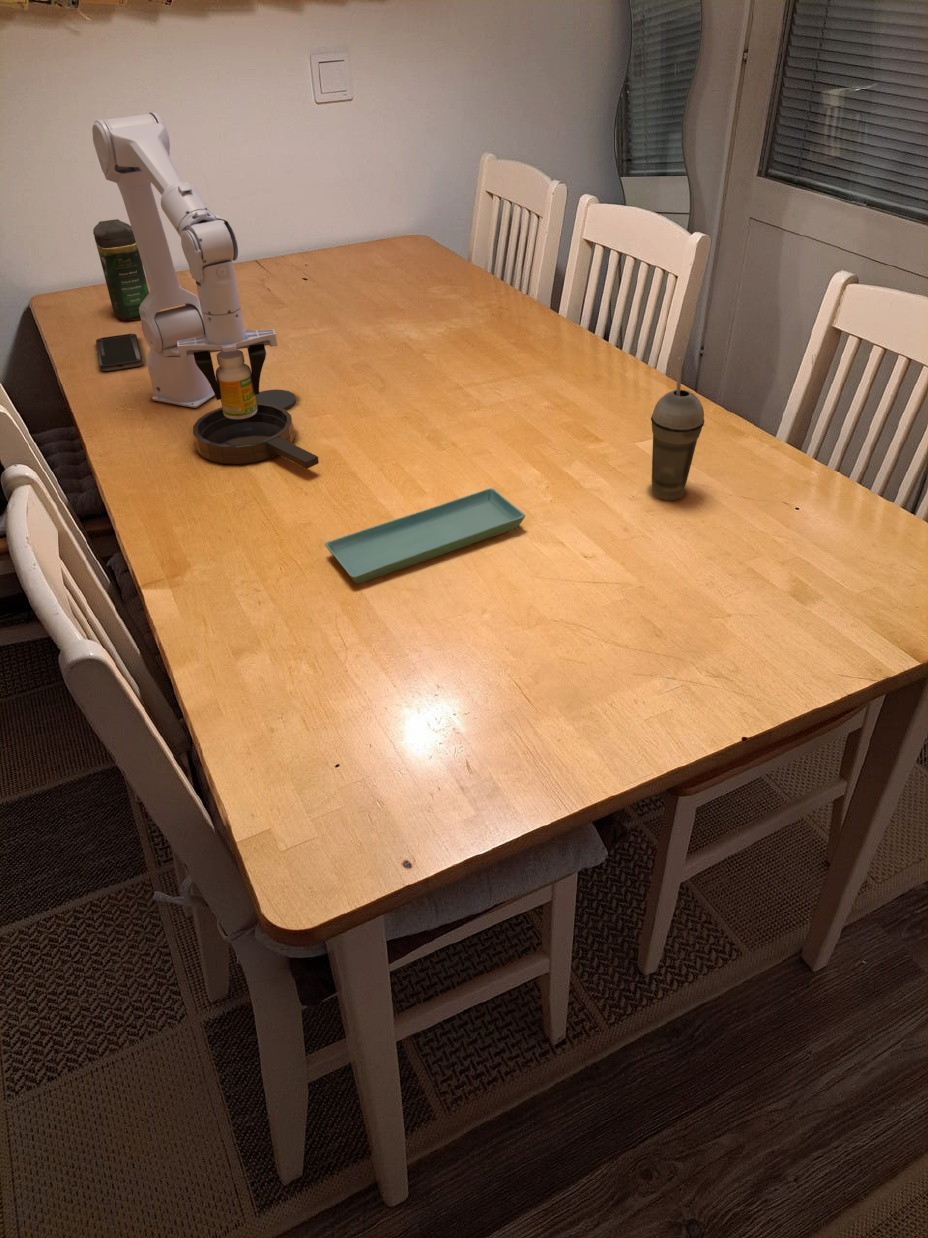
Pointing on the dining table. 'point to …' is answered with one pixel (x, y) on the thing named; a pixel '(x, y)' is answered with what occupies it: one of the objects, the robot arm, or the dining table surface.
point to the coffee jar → (121, 267)
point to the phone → (119, 352)
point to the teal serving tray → (424, 535)
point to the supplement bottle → (235, 385)
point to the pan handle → (292, 452)
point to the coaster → (277, 398)
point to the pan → (241, 434)
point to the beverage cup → (674, 440)
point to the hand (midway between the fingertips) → (237, 394)
